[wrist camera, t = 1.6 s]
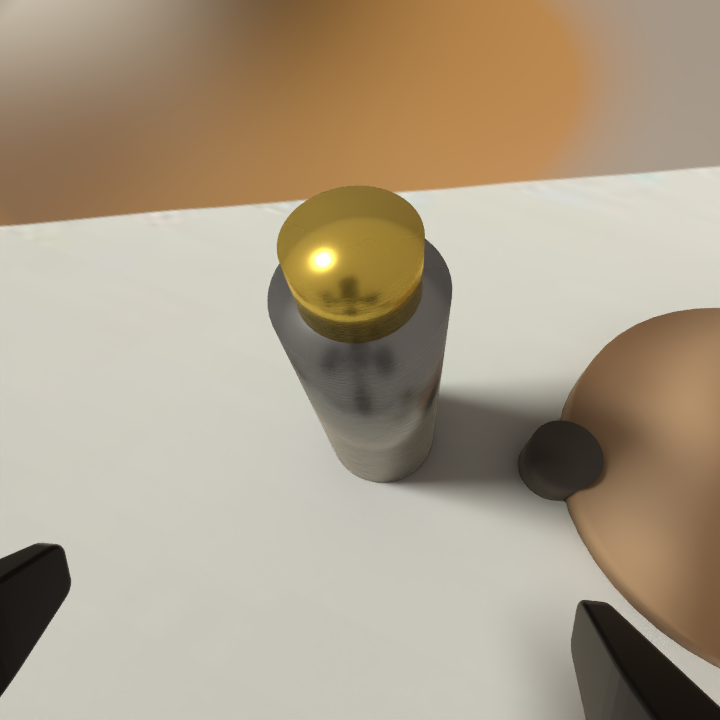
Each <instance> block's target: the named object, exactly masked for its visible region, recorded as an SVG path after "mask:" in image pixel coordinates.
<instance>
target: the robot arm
mask: <svg viewBox="0 0 720 720" xmlns="http://www.w3.org/2000/svg"><path fill="white" fill-rule="evenodd" d="M70 587H71V577H70V573H69V568H68V564H67V559H66V555H65V551H64V549H63V548H62V546H60V545H58V544H49V543H37V544H34V545H31V546H29V547H27V548H24V549H22V550H20V551H17V552H15V553H13V554H10V555H8V556H6V557H3V558H1V559H0V697H1V695H2V694H3V693H4V691H5V690H6V689H7V687H8V686H9V684H10V683H11V681H12V680H13V679H14V677H15V676H16V674H17V673H18V671H19V670H20V668H21V667H22V665H23V663H24V662H25V660H26V659H27V657H28V656H29V654H30V653H31V651H32V649H33V648H34V646H35V645H36V643H37V642H38V640H39V639H40V637H41V635H42V634H43V632H44V631H45V629H46V628H47V626H48V625H49V623H50V622H51V620H52V618H53V617H54V615H55V614H56V612H57V611H58V609H59V608H60V606H61V604H62V603H63V601H64V600H65V598H66V597H67V595H68V593H69V590H70ZM571 652H572V658H573V663H574V667H575V672H576V676H577V681H578V685H579V690H580V694H581V699H582V704H583V708H584V713H585V717H586V720H720V707H719V706H718V705H717V704H716V703H715V702H714V701H713V700H712V699H711V698H710V697H709V696H708V695H707V694H705V693H704V692H703V691H702V690H701V689H700V688H699V687H698V686H697V685H696V684H695V683H694V682H693V681H692V680H690V679H689V678H688V677H687V676H686V675H685V674H684V673H683V672H682V671H681V670H680V669H679V668H678V667H677V666H675V665H674V664H673V663H672V662H671V661H670V660H669V659H668V658H667V657H666V656H665V655H664V654H663V653H661V652H660V651H659V650H658V649H657V648H656V647H655V646H654V645H653V644H652V643H651V642H650V641H649V640H648V639H646V638H645V637H644V636H643V635H642V634H641V633H640V632H639V631H638V630H637V629H636V628H635V627H634V626H633V625H631V624H630V623H629V622H628V621H627V620H626V619H625V618H624V617H623V616H622V615H621V614H620V613H619V612H617V611H616V610H615V609H614V608H613V607H612V606H611V605H609V604H608V603H605V602H598V601H589V600H582V601H580V602H579V603H578V605H577V609H576V615H575V621H574V626H573V632H572V638H571Z"/></svg>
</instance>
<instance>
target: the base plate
mask: <svg viewBox="0 0 720 720" xmlns="http://www.w3.org/2000/svg"><path fill="white" fill-rule="evenodd" d="M518 466H519V472H520V475H521V477H522V479H523V481H524V483H525V484H526V485H527V487H528V488H529V489H530V490H532V491H533V492H534V493H535V494H537V495H539V496H541V497H543V498H545V499H549V500H565V501H566V504H567V507H568V510H569V513H570V516H571V518H572V520H573V522H574V524H575V526H576V529H577V531H578V533H579V535H580V537H581V539H582V541H583V542H584V544H585V546H586V547H587V549H588V551H589V552H590V554H591V556H592V557H593V559H594V561H595V562H596V564H597V565H598V566H599V567H600V569H601V570H602V571H603V573H604V574H605V575H606V577H607V578H608V579H609V581H610V582H611V583H612V585H613V586H614V587H615V588H616V589H617V590H618V591H619V592H620V593H621V594H622V596H623V597H624V598H625V599H626V600H627V601H628V602H629V603H630V604H631V605H632V606H633V607H634V608H635V609H636V610H637V611H638V612H639V613H640V614H641V615H642V616H644V617H645V618H646V619H647V620H648V621H649V622H650V623H652V624H653V625H654V626H655V627H656V628H657V629H658V630H660V631H661V632H662V633H664V634H665V635H667V636H668V637H669V638H671V639H672V640H674V641H675V642H676V643H678V644H679V645H681V646H682V647H683V648H685V649H686V650H688V651H690V652H691V653H693V654H695V655H697V656H698V657H700V658H702V659H704V660H705V661H707V662H709V663H711V664H712V665H714V666H716V667H718V668H720V308H704V309H691V310H684V311H677V312H672V313H668V314H664V315H661V316H657V317H654V318H651V319H649V320H646V321H644V322H642V323H639V324H637V325H635V326H633V327H631V328H630V329H628V330H626V331H625V332H623V333H621V334H620V335H618V336H617V337H616V338H615V339H613V340H612V341H611V342H610V343H608V344H607V345H606V346H605V347H604V348H603V349H602V350H601V351H600V353H599V354H598V355H597V356H596V357H595V358H594V359H593V360H592V362H591V363H590V364H589V366H588V367H587V368H586V370H585V371H584V372H583V374H582V375H581V376H580V378H579V379H578V381H577V383H576V384H575V386H574V387H573V389H572V390H571V392H570V394H569V396H568V399H567V401H566V403H565V406H564V408H563V411H562V415H561V419H560V421H552V422H548V423H546V424H544V425H542V426H541V427H540V428H538V429H537V431H536V432H535V433H534V434H533V436H532V437H531V439H530V440H529V441H528V443H527V444H526V445H525V447H524V448H523V450H522V451H521V454H520V456H519V462H518Z"/></svg>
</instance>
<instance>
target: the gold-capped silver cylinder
mask: <svg viewBox="0 0 720 720" xmlns="http://www.w3.org/2000/svg"><path fill="white" fill-rule="evenodd" d="M277 254H278V259H279V262H280V264H279V265H278V267H277V269H276V270H275V273H274V275H273V277H272V279H271V283H270V286H269V291H268V311H269V317H270V319H271V322H272V325H273V327H274V329H275V331H276V333H277V335H278V337H279V339H280V341H281V343H282V345H283V347H284V350H285V352H286V354H287V356H288V358H289V360H290V362H291V364H292V366H293V368H294V370H295V372H296V374H297V376H298V378H299V380H300V382H301V384H302V386H303V388H304V390H305V392H306V394H307V396H308V398H309V400H310V402H311V404H312V406H313V408H314V410H315V412H316V414H317V416H318V418H319V420H320V422H321V424H322V426H323V428H324V430H325V432H326V434H327V436H328V438H329V440H330V443H331V445H332V447H333V449H334V451H335V453H336V455H337V456H338V458H339V460H340V461H341V463H342V464H343V465H344V466H345V467H346V468H347V469H348V470H349V471H350V472H351V473H353V474H354V475H356V476H358V477H360V478H362V479H365V480H368V481H372V482H392V481H396V480H399V479H402V478H404V477H406V476H408V475H410V474H411V473H413V472H414V471H415V470H416V469H418V467H419V466H420V465H421V464H422V463H423V462H424V460H425V459H426V457H427V455H428V453H429V451H430V448H431V445H432V440H433V432H434V425H435V418H436V410H437V403H438V395H439V388H440V381H441V373H442V366H443V358H444V351H445V344H446V336H447V329H448V321H449V314H450V307H451V299H452V282H451V276H450V273H449V269H448V267H447V265H446V263H445V261H444V259H443V257H442V256H441V254H440V253H439V252H438V251H437V249H436V248H435V247H434V246H433V245H432V244H431V243H430V242H428V241H427V240H426V239H425V233H424V226H423V222H422V220H421V218H420V216H419V214H418V213H417V211H416V210H415V209H414V207H413V206H412V205H411V204H410V203H408V202H407V201H406V200H405V199H403V198H402V197H400V196H399V195H397V194H394V193H392V192H390V191H387V190H384V189H381V188H376V187H369V186H347V187H340V188H336V189H332V190H329V191H326V192H323V193H320V194H318V195H316V196H314V197H312V198H310V199H309V200H307V201H305V202H304V203H303V204H301V205H300V206H299V207H297V208H296V209H295V210H294V211H293V212H292V213H291V214H290V216H289V217H288V218H287V219H286V221H285V222H284V224H283V226H282V228H281V230H280V233H279V236H278V241H277Z"/></svg>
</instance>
